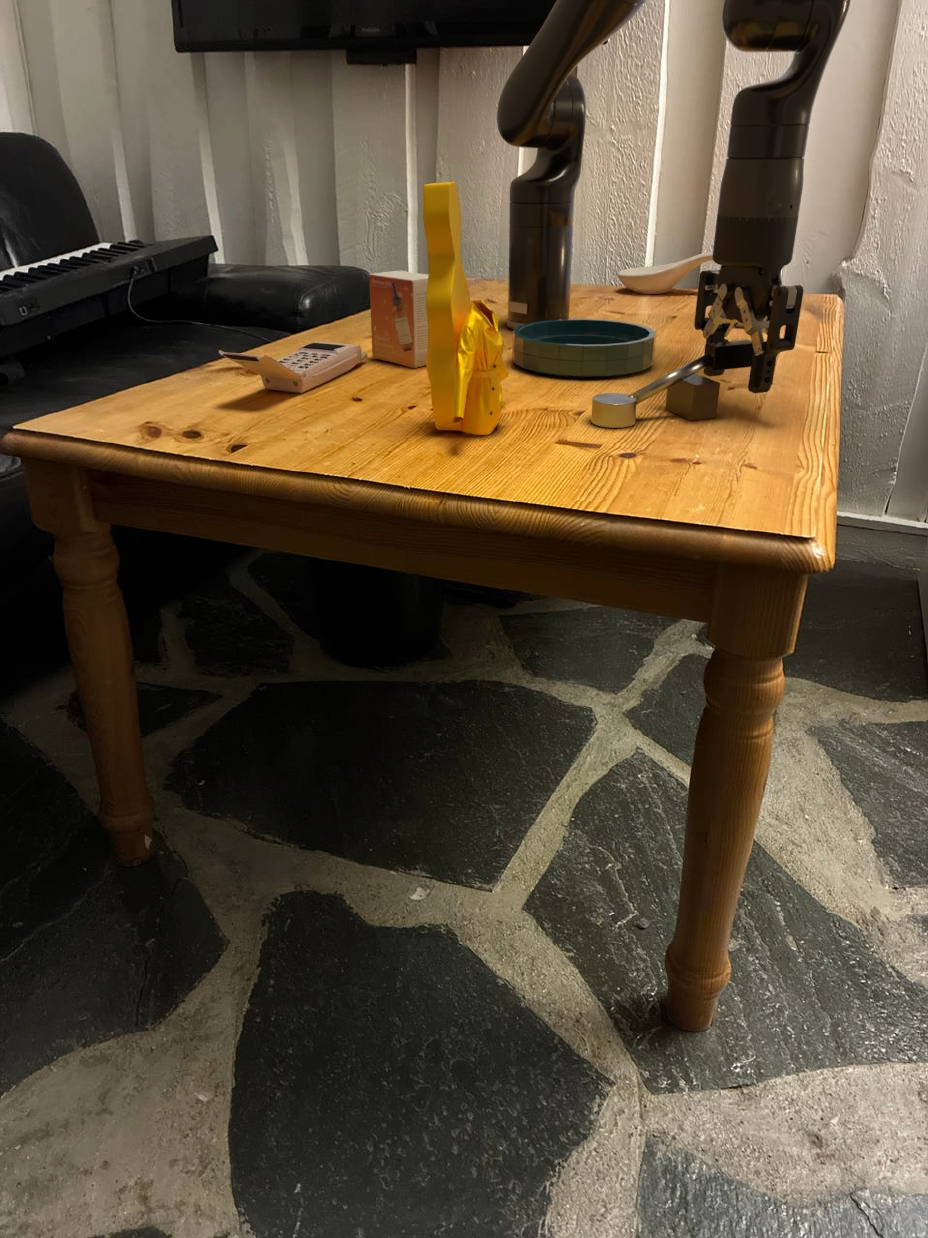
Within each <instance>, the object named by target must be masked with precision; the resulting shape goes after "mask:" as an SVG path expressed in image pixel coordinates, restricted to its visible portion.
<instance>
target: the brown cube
mask: <svg viewBox="0 0 928 1238" xmlns="http://www.w3.org/2000/svg"><path fill="white" fill-rule="evenodd" d="M712 256H713V250H712V251H706V252H702V253H699V254H696V255H694V256H690V257H688V258H686V259H683V260H679V261H676V262H671V263H667V264H659V265H648V266H639V267H630V268H625V269H623V270H620V271H618V272H617V277H618V279H619V281H620V282H621V283H622V285H623V286H625V287H626V288H627V289H629V290H630V291H632V292H634V293H635V294H643V295H659V294H660V295H661V294H666V293H668V292H669V291H670V290H671V289H673V288H674V287H675V286H677V285H678V283H679V282H680V281H682V280H683V279H684V278H685V277H686V276H687V275H688V274H690V273H691V272H692V271H693V270H694V269H696V268H697V267H698V266H701V265H702V264H704V263H707V262H710V261H711V262H712V261H713V258H712Z"/></svg>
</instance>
